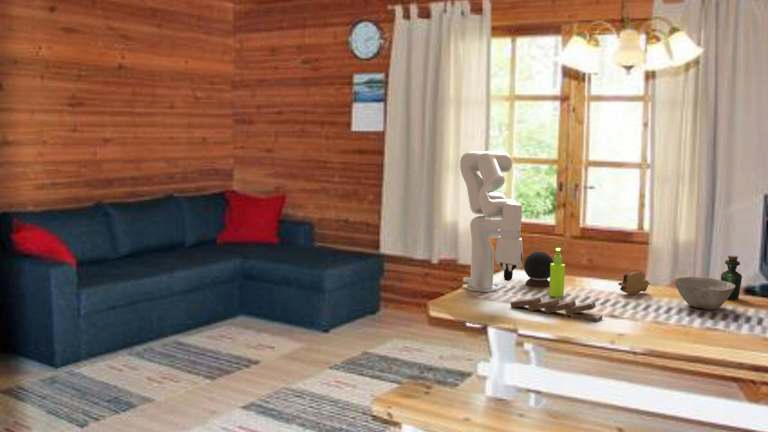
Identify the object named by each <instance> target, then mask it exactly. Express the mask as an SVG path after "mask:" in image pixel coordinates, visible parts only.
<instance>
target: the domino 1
mask: <svg viewBox="0 0 768 432" xmlns="http://www.w3.org/2000/svg"><path fill="white" fill-rule="evenodd" d="M541 298H542V297H541V296H537V297H529V298H522V299H515V300H514V301H511V302H510V303H509V304H510V308H512V309H514V308H518V307H519V308H521V307H526V306H527V307H528V306H529V305H535V304H537V303H540V302H542V299H541Z"/></svg>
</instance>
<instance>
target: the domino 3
mask: <svg viewBox="0 0 768 432" xmlns="http://www.w3.org/2000/svg"><path fill="white" fill-rule="evenodd" d="M559 303H560V304H557V305H555V306H553V307H548V308H544V311H545V314H546V313H547V314H551V313H556V312H560V311H563V310H564V311H565V309H569V308H572V307H573V306H575V305H577V304H576V299H573V300H568V301H564V302H559Z"/></svg>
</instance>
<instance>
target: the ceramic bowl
mask: <svg viewBox="0 0 768 432" xmlns="http://www.w3.org/2000/svg"><path fill="white" fill-rule="evenodd" d="M673 282H674V285H675V286H676V289H677V291H678V293H679V295H680V296H681V298H682V300H684V301H685V302H686V304H687V305H689V306H691V307H692V308H698V309H702V310H706V311H707V310H709V311H712V310H713V311H714V310H717V309H720V308H721V307H722V306H723V305H724V304H725V302H726V301H727V300H728V298H729V296H730V295H731V293H732V291H733V290H734V288H735V285H734V284H732V283H729V282H726V281H721V279H716V278H712V277H711V278H710V277H708V278H707V277H698V276H682V277H678V278H674V279H673Z"/></svg>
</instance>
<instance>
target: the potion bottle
mask: <svg viewBox="0 0 768 432" xmlns="http://www.w3.org/2000/svg"><path fill="white" fill-rule="evenodd" d="M738 258H739V256H738V255H734V254H728V255H727V259H726V260H725V261H724V264H725V265H727V270H725V271H723V272H721V274H720V280H721V281H726V282H729V283H732V284H734V285H735V288H734V290H733V291H732V293H731V295H730V296H729V298H728V299H727V300H729V301H737V300H739V299H740V298H739V297H740V291H741V285H742V282H743V281H742V280H743V276H742V274H741V273H739V272H738V271H737V268H738V266H740V265H741V262H740V261H739V260H738Z"/></svg>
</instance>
